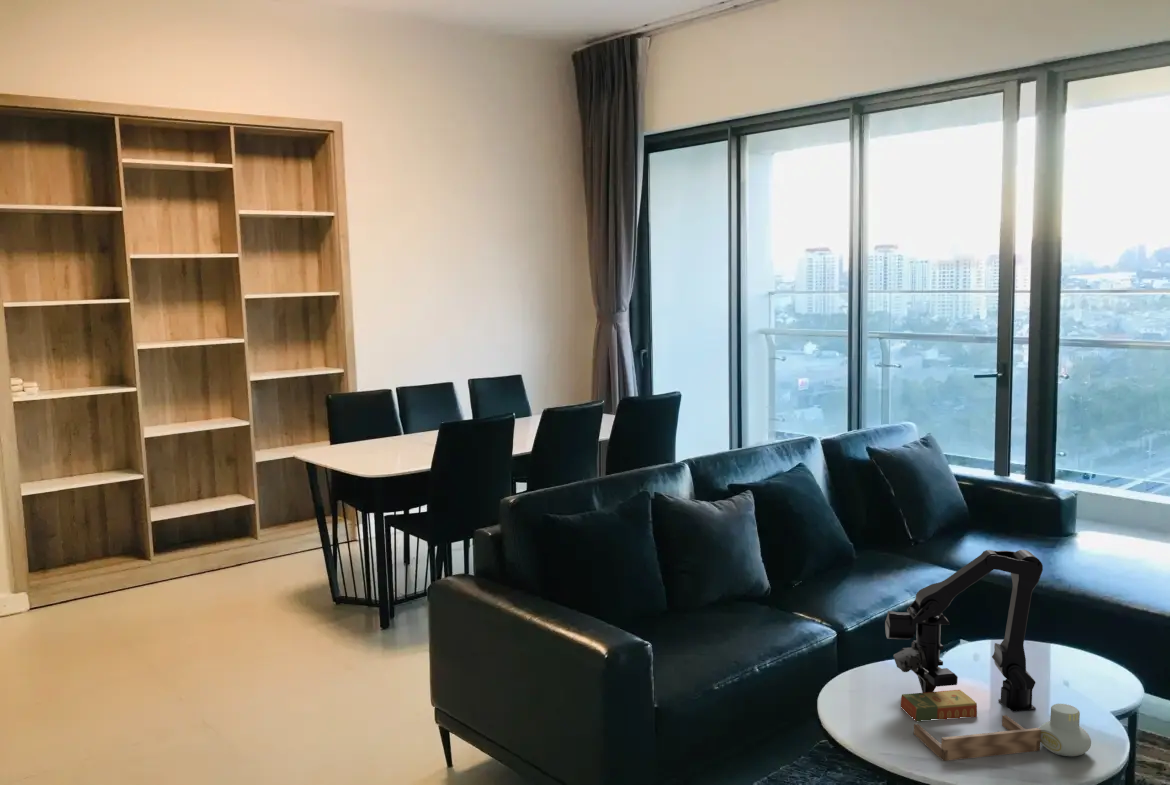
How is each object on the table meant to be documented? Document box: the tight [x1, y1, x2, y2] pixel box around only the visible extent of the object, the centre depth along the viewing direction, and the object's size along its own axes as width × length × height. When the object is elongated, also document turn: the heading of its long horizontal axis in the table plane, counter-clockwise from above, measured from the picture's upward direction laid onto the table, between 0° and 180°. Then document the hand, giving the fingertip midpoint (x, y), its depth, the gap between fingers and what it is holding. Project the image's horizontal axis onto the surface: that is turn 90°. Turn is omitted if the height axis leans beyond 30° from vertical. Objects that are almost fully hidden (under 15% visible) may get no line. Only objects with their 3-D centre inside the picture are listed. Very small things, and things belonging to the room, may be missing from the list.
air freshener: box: [1038, 703, 1092, 757], centre depth 217 cm, size 11×8×10 cm
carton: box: [900, 689, 978, 722], centre depth 237 cm, size 8×16×4 cm, turn 97°
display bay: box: [913, 714, 1042, 762], centre depth 221 cm, size 24×13×5 cm, turn 100°
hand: (926, 698), depth 243 cm, fingers closed
